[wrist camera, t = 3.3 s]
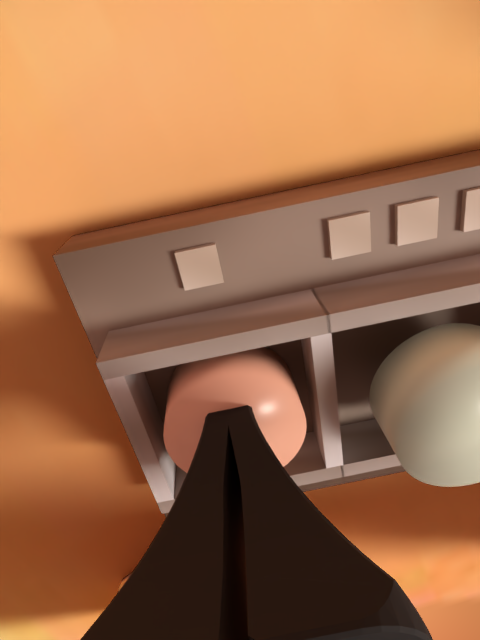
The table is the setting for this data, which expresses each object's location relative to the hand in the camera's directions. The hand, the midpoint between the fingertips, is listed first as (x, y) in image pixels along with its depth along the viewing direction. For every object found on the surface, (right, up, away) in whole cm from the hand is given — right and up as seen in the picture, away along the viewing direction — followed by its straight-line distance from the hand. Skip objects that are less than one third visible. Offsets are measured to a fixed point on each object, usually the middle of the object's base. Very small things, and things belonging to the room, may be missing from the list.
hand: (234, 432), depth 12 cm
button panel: (+6, +3, +3) cm, 8 cm away
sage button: (+6, +1, 0) cm, 7 cm away
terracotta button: (0, +1, +2) cm, 2 cm away
